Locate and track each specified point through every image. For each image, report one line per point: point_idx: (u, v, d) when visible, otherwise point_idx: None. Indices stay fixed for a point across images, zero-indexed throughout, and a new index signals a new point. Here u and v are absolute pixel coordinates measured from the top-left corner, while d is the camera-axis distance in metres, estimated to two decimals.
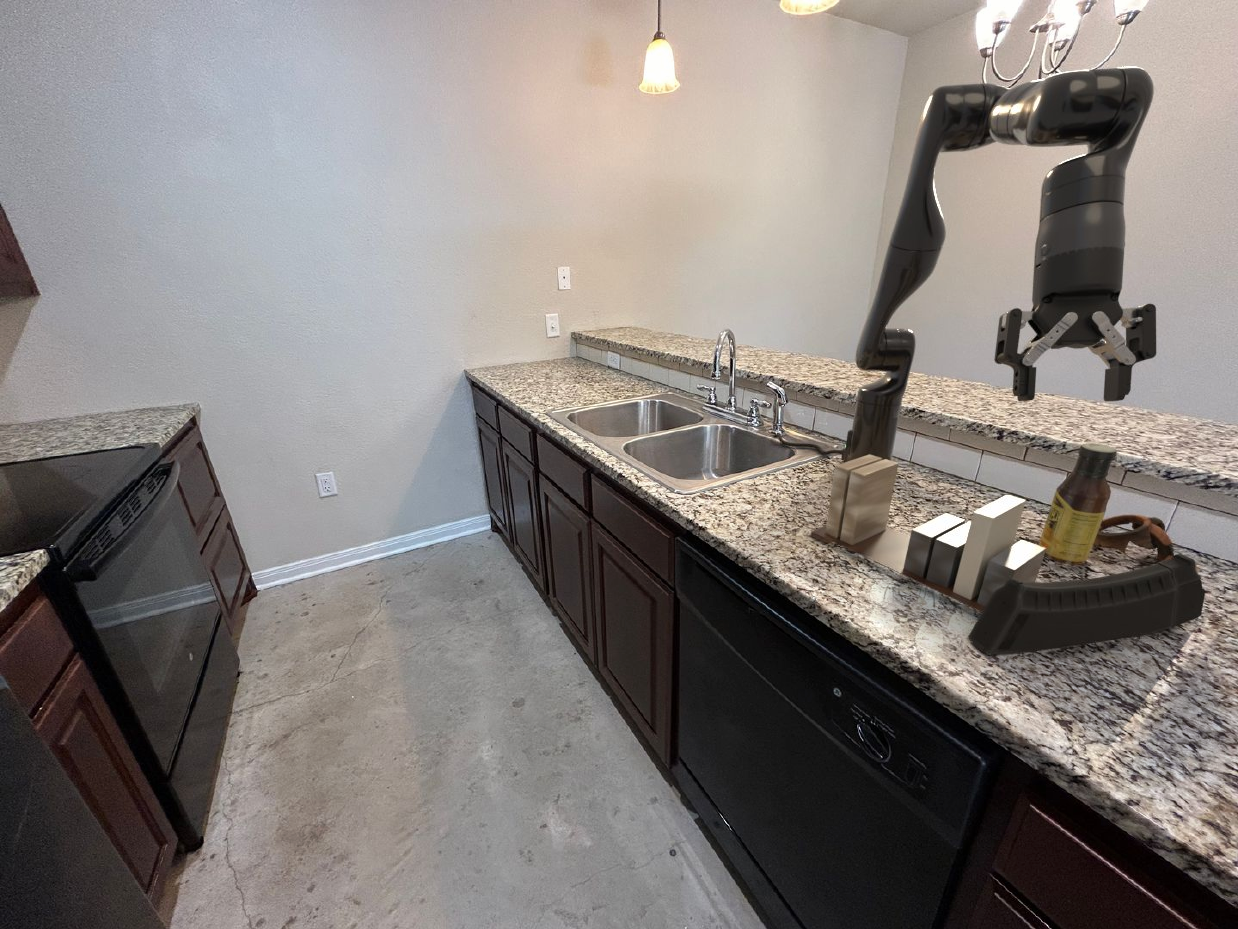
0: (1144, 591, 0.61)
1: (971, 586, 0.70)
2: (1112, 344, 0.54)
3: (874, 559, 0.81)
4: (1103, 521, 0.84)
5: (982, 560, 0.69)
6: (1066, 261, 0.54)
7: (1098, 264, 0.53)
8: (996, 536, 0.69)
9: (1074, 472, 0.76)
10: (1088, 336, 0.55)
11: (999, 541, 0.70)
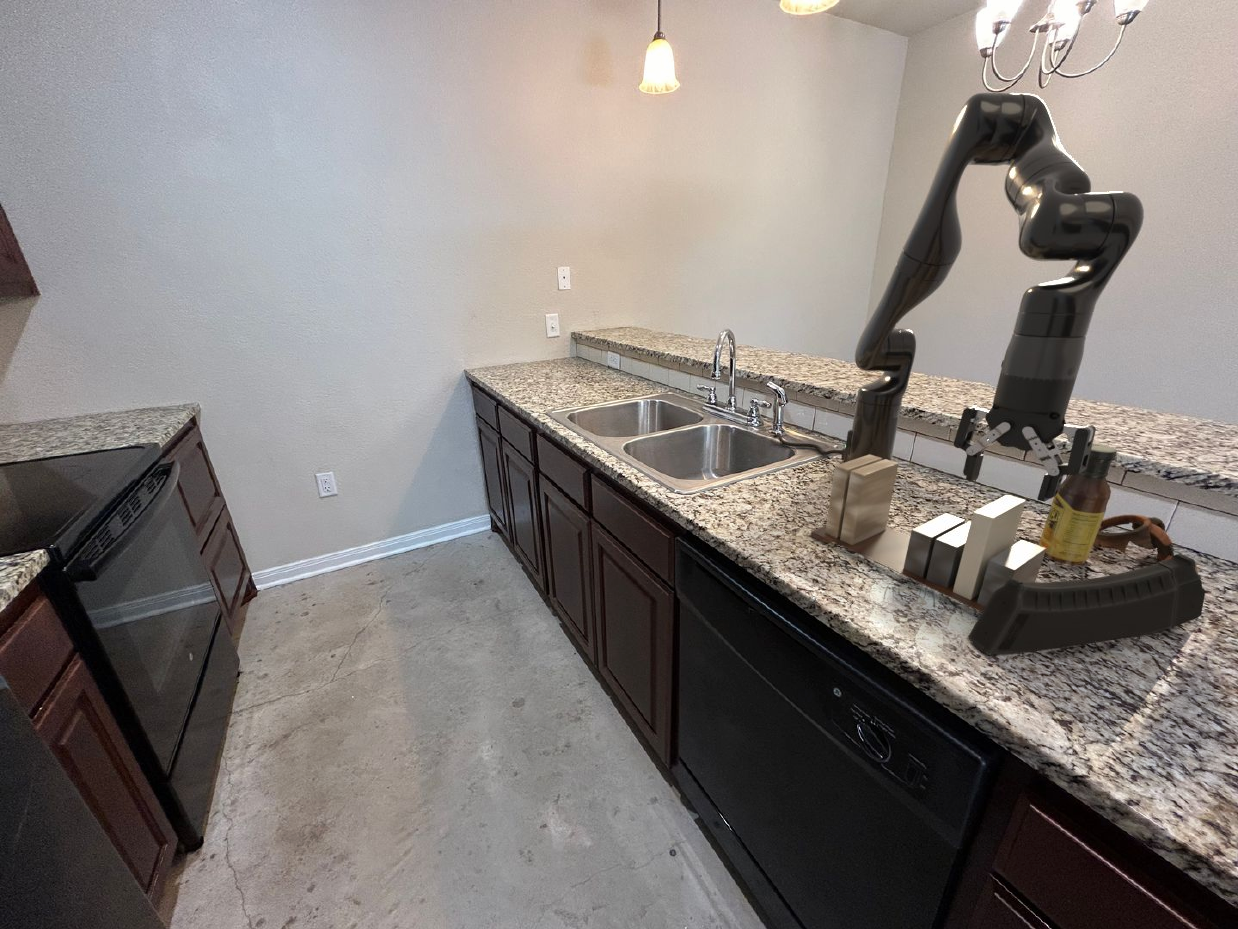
0: (1144, 591, 0.61)
1: (971, 586, 0.70)
2: None
3: (874, 559, 0.81)
4: (1103, 521, 0.84)
5: (982, 560, 0.69)
6: (1004, 381, 0.64)
7: (1019, 392, 0.62)
8: (996, 536, 0.69)
9: None
10: (1023, 443, 0.65)
11: (999, 541, 0.70)
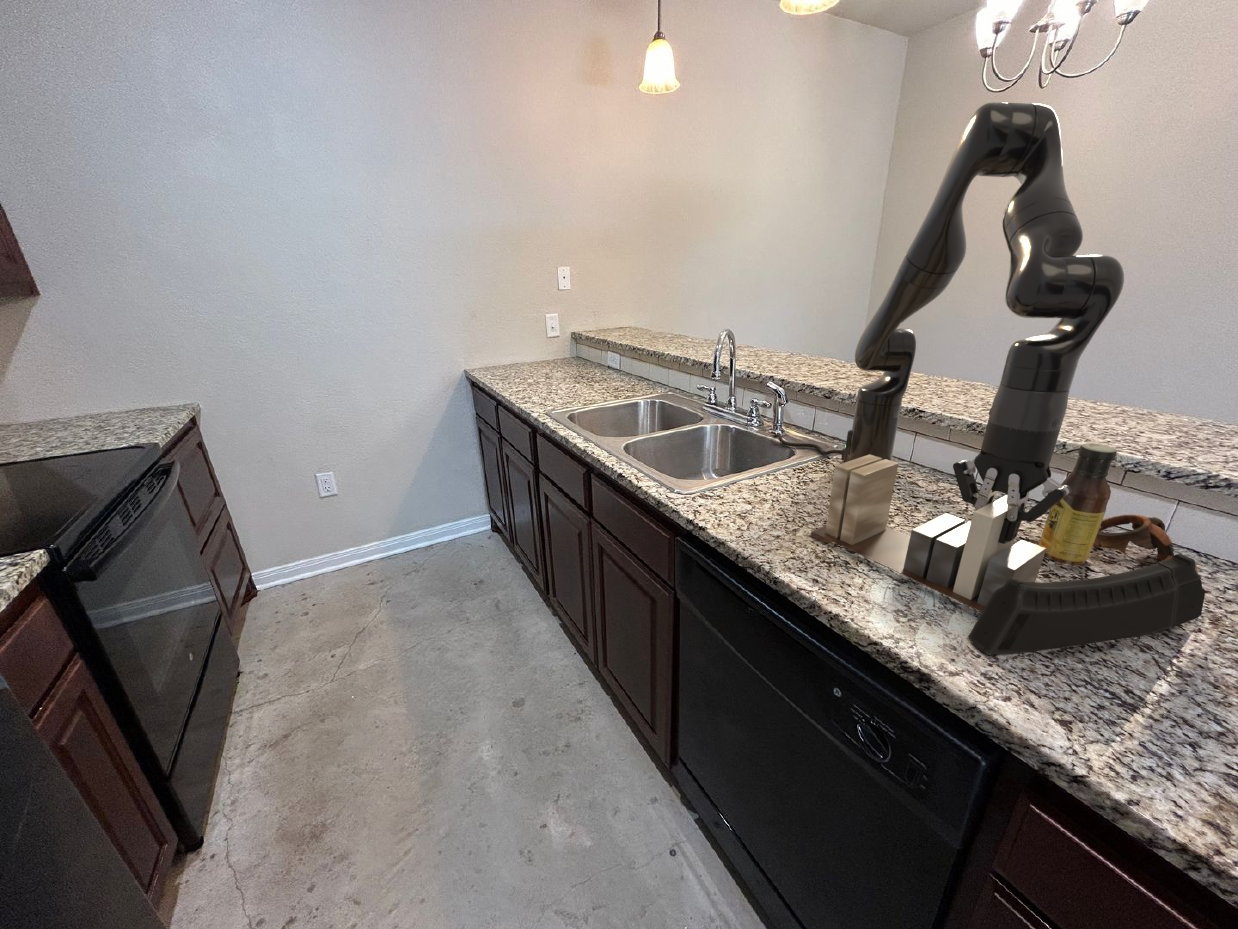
0: (1144, 591, 0.61)
1: (971, 586, 0.70)
2: None
3: (874, 559, 0.81)
4: (1103, 521, 0.84)
5: (982, 560, 0.69)
6: (991, 429, 0.66)
7: (1005, 441, 0.64)
8: (996, 536, 0.69)
9: (1074, 472, 0.76)
10: (1002, 483, 0.68)
11: None
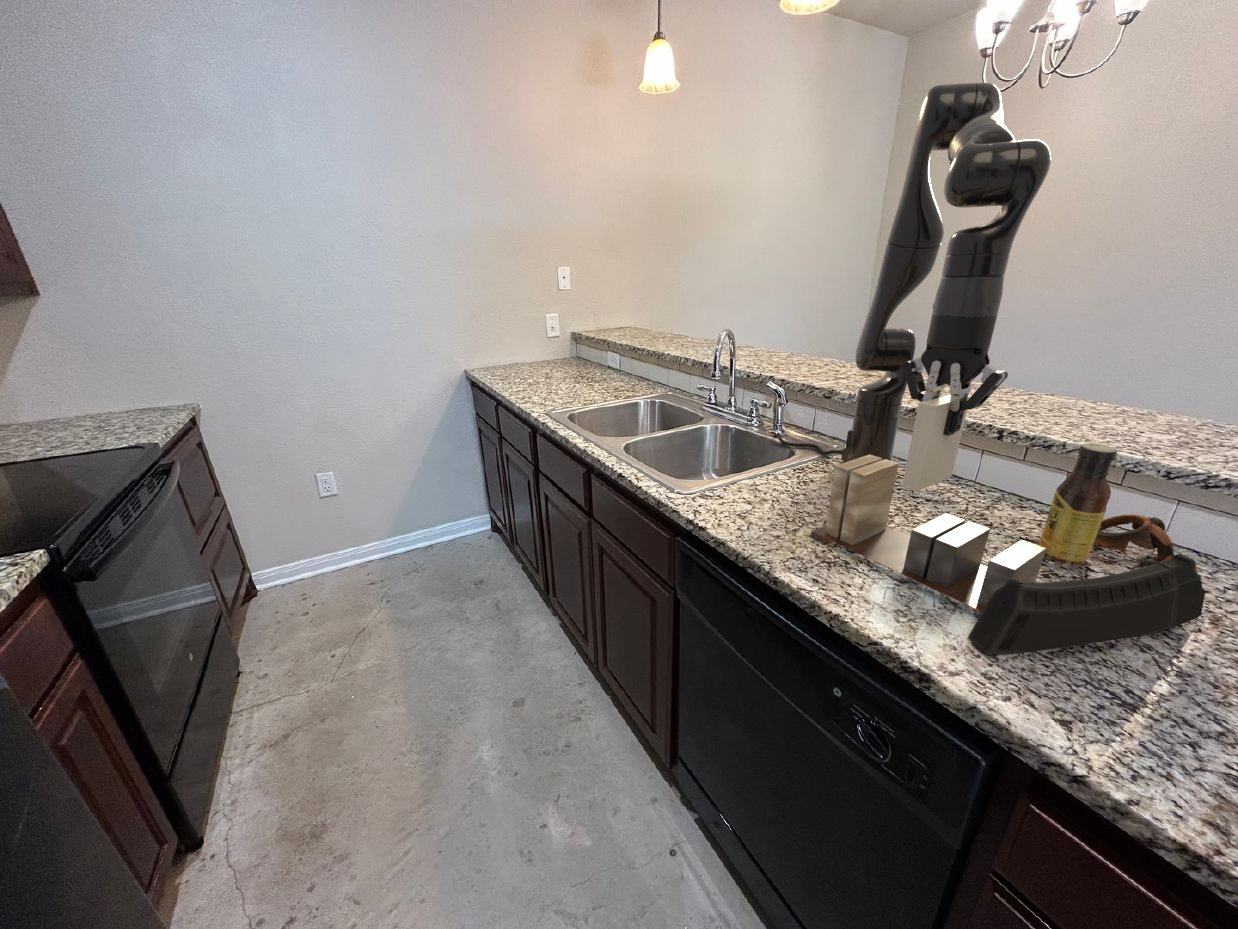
0: (1144, 591, 0.61)
1: (918, 476, 0.73)
2: None
3: (874, 559, 0.81)
4: (1103, 521, 0.84)
5: (927, 450, 0.72)
6: (934, 321, 0.69)
7: (946, 330, 0.67)
8: (941, 427, 0.72)
9: (1074, 472, 0.76)
10: (946, 375, 0.71)
11: None
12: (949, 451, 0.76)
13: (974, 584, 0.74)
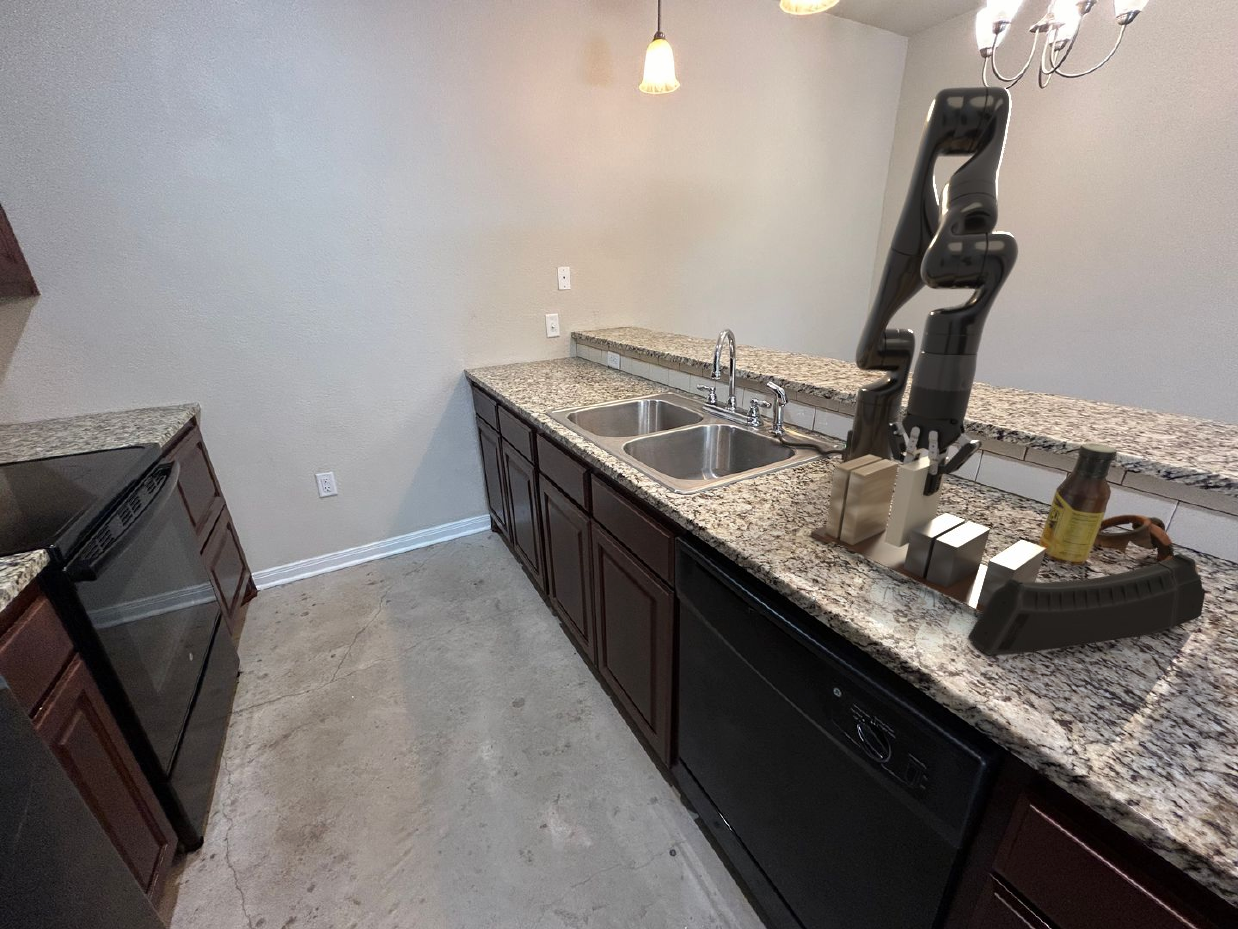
0: (1144, 591, 0.61)
1: (899, 534, 0.78)
2: (928, 455, 0.75)
3: (874, 559, 0.81)
4: (1103, 521, 0.84)
5: (908, 511, 0.76)
6: (913, 391, 0.74)
7: (924, 401, 0.72)
8: (920, 489, 0.76)
9: (1074, 472, 0.76)
10: (925, 441, 0.75)
11: None
12: (929, 508, 0.80)
13: (974, 584, 0.74)
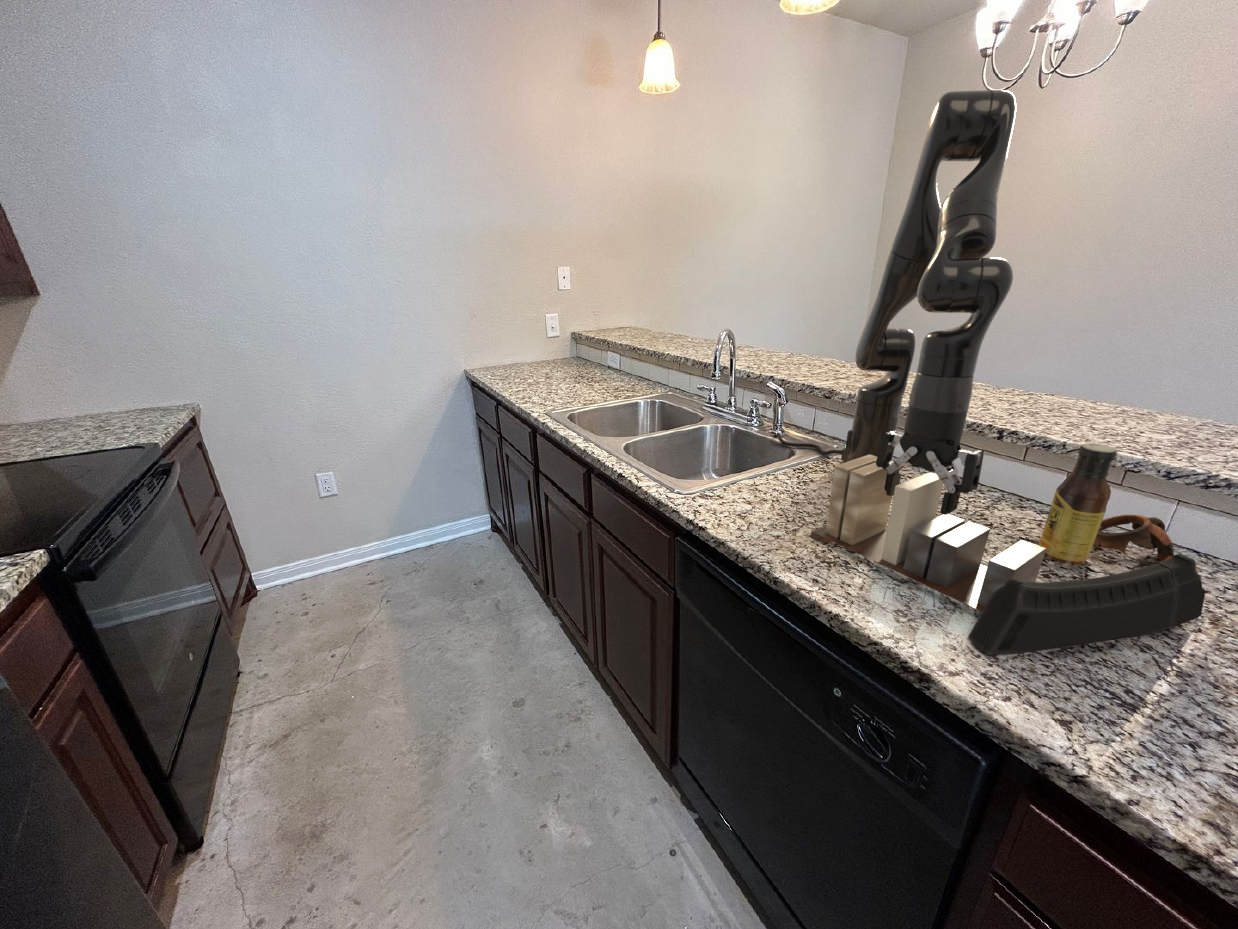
0: (1144, 591, 0.61)
1: (895, 552, 0.79)
2: None
3: (874, 559, 0.81)
4: (1103, 521, 0.84)
5: (904, 529, 0.77)
6: (910, 412, 0.75)
7: (921, 422, 0.73)
8: (916, 508, 0.77)
9: (1074, 472, 0.76)
10: (928, 465, 0.76)
11: (920, 512, 0.79)
12: None
13: (974, 584, 0.74)
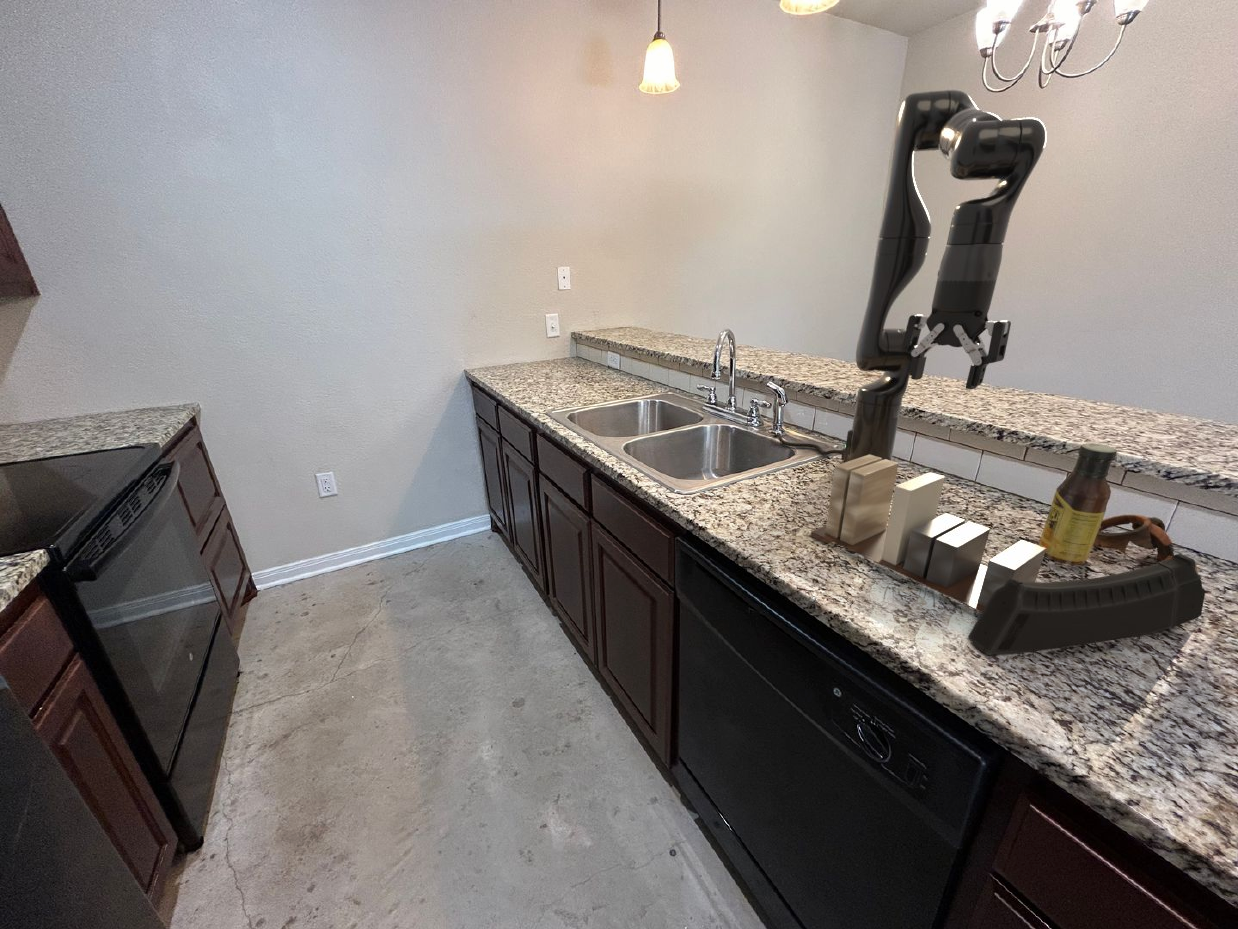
0: (1144, 591, 0.61)
1: (895, 552, 0.79)
2: (964, 349, 0.76)
3: (874, 559, 0.81)
4: (1103, 521, 0.84)
5: (904, 529, 0.77)
6: (938, 287, 0.76)
7: (949, 294, 0.74)
8: (916, 508, 0.77)
9: (1074, 472, 0.76)
10: (954, 340, 0.77)
11: (920, 512, 0.79)
12: None
13: (974, 584, 0.74)
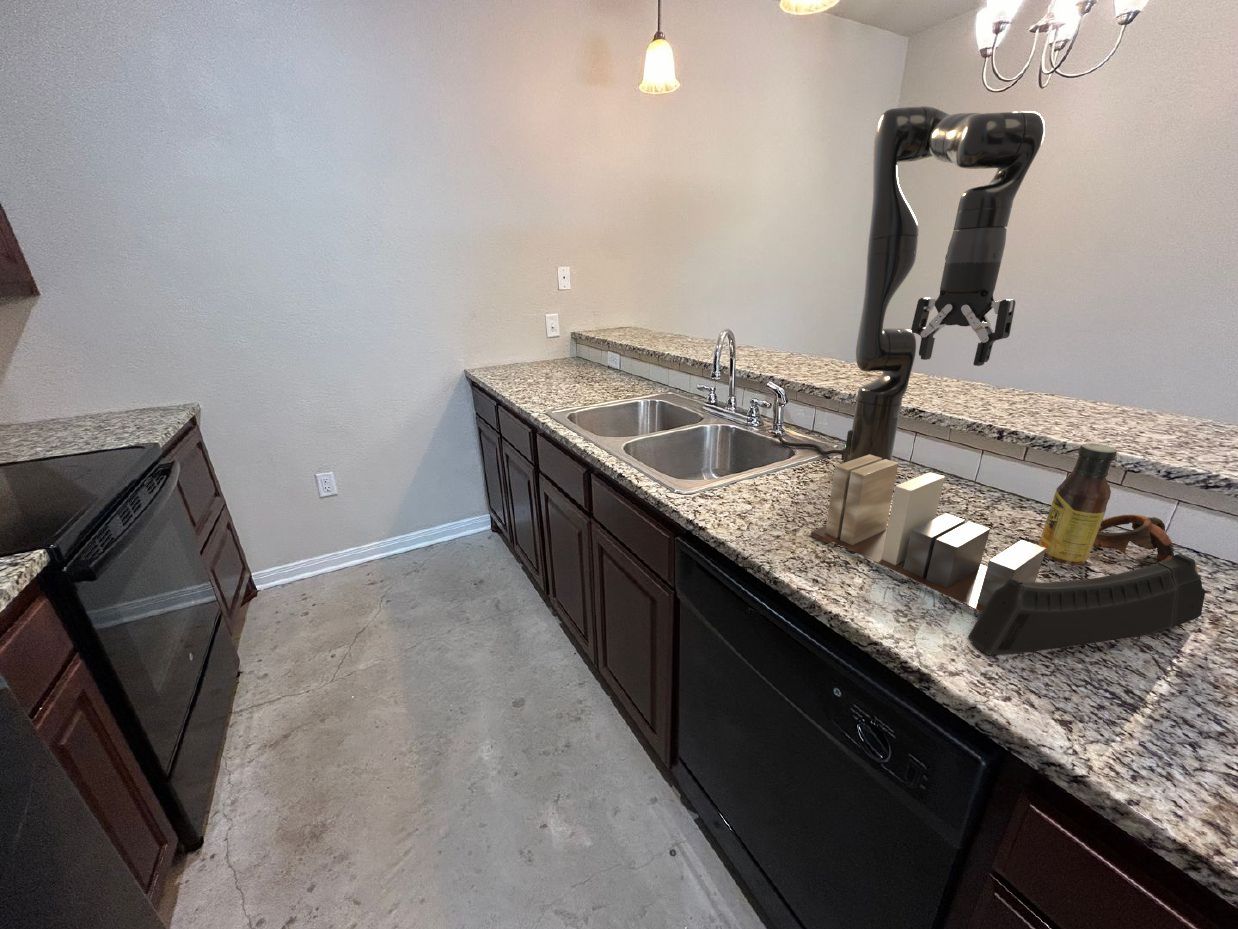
0: (1144, 591, 0.61)
1: (895, 552, 0.79)
2: None
3: (874, 559, 0.81)
4: (1103, 521, 0.84)
5: (904, 529, 0.77)
6: (946, 269, 0.81)
7: (957, 275, 0.79)
8: (916, 508, 0.77)
9: (1074, 472, 0.76)
10: (962, 320, 0.82)
11: (920, 512, 0.79)
12: None
13: (974, 584, 0.74)
